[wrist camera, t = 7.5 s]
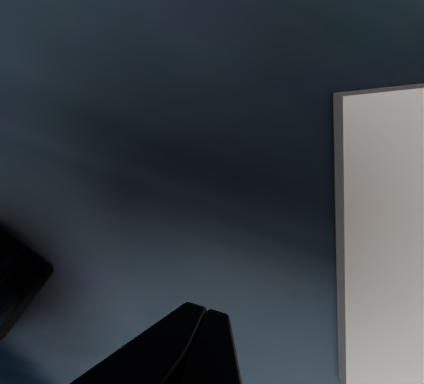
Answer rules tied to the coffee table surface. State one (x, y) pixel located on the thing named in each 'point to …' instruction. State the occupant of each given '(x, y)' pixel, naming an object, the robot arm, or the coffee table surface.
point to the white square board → (380, 234)
